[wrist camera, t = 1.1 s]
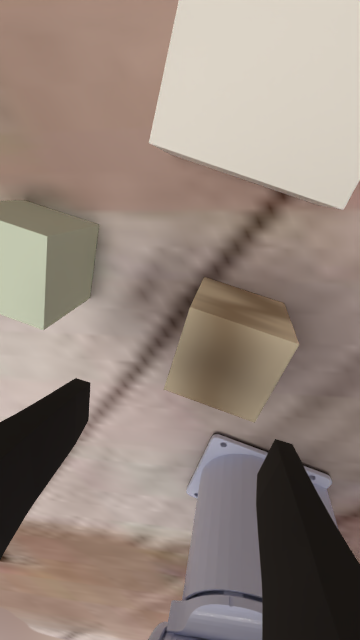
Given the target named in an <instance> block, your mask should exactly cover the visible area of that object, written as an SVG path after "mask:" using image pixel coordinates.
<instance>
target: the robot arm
mask: <svg viewBox="0 0 360 640" xmlns="http://www.w3.org/2000/svg"><path fill="white" fill-rule="evenodd" d="M89 398H90V382H86V381H83V380H80V379H74V380H72V381H70V382H69V383H67V384H65V385H64V386H62V387H60V388H59V389H57V390H56V391H54V392H52V393H51V394H49V395H47V396H46V397H44V398H42V399H41V400H39V401H37V402H36V403H34V404H32V405H31V406H29V407H27V408H25V409H24V410H22V411H20V412H18V413H17V414H15V415H13V416H11V417H9V418H7V419H5V420H4V421H2V422H0V559H1V557H2V555H3V553H4V552H5V550H6V548H7V546H8V545H9V543H10V541H11V540H12V538H13V536H14V535H15V533H16V531H17V530H18V528H19V526H20V524H21V523H22V521H23V519H24V518H25V516H26V514H27V513H28V511H29V510H30V508H31V507H32V505H33V504H34V502H35V501H36V499H37V498H38V496H39V495H40V494H41V492H42V491H43V489H44V488H45V487H46V485H47V484H48V482H49V481H50V480H51V478H52V477H53V475H54V474H55V472H56V471H57V470H58V468H59V467H60V465H61V464H62V463H63V461H64V460H65V458H66V457H67V455H68V454H69V453H70V451H71V450H72V448H73V447H74V445H75V444H76V442H77V440H78V438H79V437H80V435H81V433H82V431H83V429H84V427H85V425H86V424H87V422H88V417H89ZM222 442H224V443H222ZM331 484H332V480H331V477H330V476H329V475H327V474H324V473H322V472H319V471H316V470H314V469H311V468H308V467H306V466H303V464H302V462H301V460H300V458H299V456H298V454H297V452H296V450H295V449H294V447H293V445H292V444H290V443H286V442H283V441H280V440H276V439H275V441H274V443H273V444H272V446H271V448H270V450H269V452H265V451H262V450H260V449H257V448H254V447H252V446H249V445H246V444H244V443H241V442H238V441H235V440H233V439H230V438H227V437H225V436H222V435H219V434H215V435H213V436H212V437H211V439H210V441H209V443H208V445H207V448H206V450H205V452H204V454H203V456H202V458H201V460H200V462H199V464H198V466H197V468H196V470H195V472H194V474H193V476H192V478H191V481H190V483H189V485H188V487H187V494H188V495H190V496H192V497H195V498H197V504H196V511H195V517H194V524H193V531H192V537H191V544H190V551H189V558H188V564H187V571H186V578H185V584H184V591H183V598H182V601H175V600H173V601H172V602H171V608H170V613H169V619H168V622H162V623H160V624H159V625H158V626H157V627H156V628H155V629H154V630H153V632H152V634H151V635H150V637H149V639H148V640H360V564H359V562H358V561H357V559H356V558H355V556H354V555H353V553H352V551H351V550H350V548H349V547H348V545H347V543H346V542H345V540H344V538H343V537H342V535H341V533H340V532H339V530H338V526H337V523H336V519H335V516H334V512H333V509H332V505H331V502H330V498H329V494H328V491H327V489H328V487H329V486H330V485H331Z"/></svg>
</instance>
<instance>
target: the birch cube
mask: <svg viewBox="0 0 360 640" xmlns="http://www.w3.org/2000/svg"><path fill="white" fill-rule="evenodd" d="M298 346H299V342H298V339H297V337H296V334H295V331H294V329H293V326H292V323H291V320H290V318H289V315H288V312H287V309H286V307H285V304H284V303H282V302H279V301H276V300H273V299H270V298H267V297H264V296H261V295H258V294H255V293H252V292H249V291H246V290H243V289H240V288H237V287H234V286H231V285H228V284H224V283H221V282H218V281H215V280H212V279H209V278H206V277H204V278H203V280H202V282H201V285H200V287H199V289H198V291H197V293H196V295H195V298H194V300H193V302H192V304H191V306H190V309H189V312H188V315H187V318H186V321H185V325H184V328H183V331H182V334H181V337H180V340H179V343H178V346H177V349H176V353H175V356H174V359H173V362H172V365H171V368H170V371H169V374H168V378H167V381H166V384H165V387H164V390H167V391H169V392H172V393H175V394H178V395H180V396H183V397H186V398H189V399H191V400H194V401H197V402H200V403H202V404H205V405H208V406H210V407H213V408H216V409H219V410H221V411H224V412H227V413H230V414H232V415H235V416H238V417H241V418H243V419H246V420H249V421H251V422H254V423H255V421H256V419H257V418H258V416H259V414H260V412H261V411H262V409H263V407H264V405H265V404H266V402H267V400H268V398H269V397H270V395H271V393H272V391H273V390H274V388H275V386H276V384H277V383H278V381H279V379H280V377H281V376H282V374H283V372H284V370H285V369H286V367H287V365H288V363H289V362H290V360H291V358H292V356H293V355H294V353H295V351H296V349H297V348H298Z"/></svg>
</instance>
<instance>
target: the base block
mask: <svg viewBox="0 0 360 640" xmlns="http://www.w3.org/2000/svg"><path fill="white" fill-rule="evenodd" d="M149 143H150V144H152V145H154V146H155V147H157V148H159V149H161V150H163V151H165V152H167V153H169V154H171V155H174V156H176V157H179V158H182V159H185V160H188V161H191V162H194V163H197V164H200V165H203V166H206V167H208V168H211V169H214V170H217V171H220V172H223V173H226V174H229V175H232V176H235V177H237V178H240V179H243V180H246V181H249V182H252V183H255V184H258V185H261V186H264V187H267V188H269V189H272V190H275V191H278V192H281V193H284V194H287V195H290V196H293V197H296V198H298V199H301V200H304V201H307V202H310V203H313V204H316V205H319V206H324V207H330V208H336V209H341V210H343V209H344V208H345V206H346V204H347V202H348V200H349V198H350V197H351V195H352V193H353V191H354V189H355V188H356V186H357V184H358V182H359V180H360V0H179V2H178V7H177V12H176V17H175V21H174V26H173V31H172V36H171V40H170V45H169V50H168V55H167V59H166V64H165V69H164V74H163V78H162V83H161V88H160V93H159V97H158V102H157V107H156V112H155V117H154V121H153V126H152V131H151V136H150V140H149Z"/></svg>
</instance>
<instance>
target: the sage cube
mask: <svg viewBox="0 0 360 640" xmlns="http://www.w3.org/2000/svg"><path fill="white" fill-rule="evenodd" d="M98 230H99V224H95V223H92V222H89V221H86V220H83V219H80V218H77V217H74V216H71V215H68V214H65V213H62V212H59V211H56V210H53V209H50V208H47V207H44V206H41V205H38V204H34V203H31V202H28V201H25V200H13V201H0V315H3V316H6V317H8V318H11V319H14V320H17V321H20V322H22V323H25V324H28V325H31V326H33V327H36V328H39V329H42V330H45V329H46V328H47V327H49V326H50V325H52V324H53V323H55V322H56V321H58V320H59V319H60V318H62V317H63V316H65V315H66V314H68V313H69V312H71V311H72V310H74V309H75V308H76V307H78V306H79V305H81V304H82V303H84V302H85V301H87V300H88V299H89V298H90V294H91V286H92V278H93V270H94V262H95V254H96V246H97V238H98Z"/></svg>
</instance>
